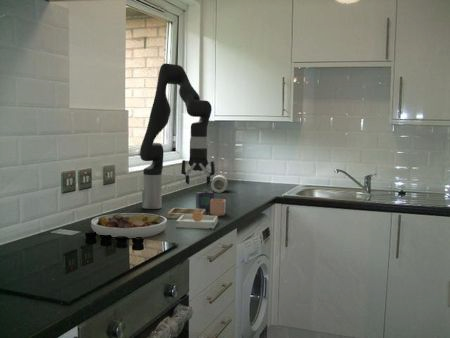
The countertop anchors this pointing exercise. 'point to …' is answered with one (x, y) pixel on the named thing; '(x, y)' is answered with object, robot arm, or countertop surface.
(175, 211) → the corral
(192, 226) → the tray
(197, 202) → the flask
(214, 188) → the toilet paper
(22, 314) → the countertop surface
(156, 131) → the robot arm
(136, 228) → the bowl
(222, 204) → the cup
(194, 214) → the ball
